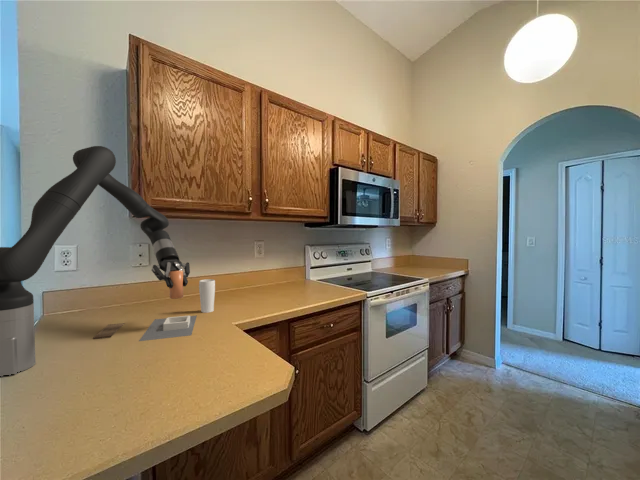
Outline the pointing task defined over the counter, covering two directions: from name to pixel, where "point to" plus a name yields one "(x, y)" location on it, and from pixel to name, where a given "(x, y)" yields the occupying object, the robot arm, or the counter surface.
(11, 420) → the counter surface
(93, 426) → the counter surface
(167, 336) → the board
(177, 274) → the orange cylinder
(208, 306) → the drinking glass
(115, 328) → the pad
